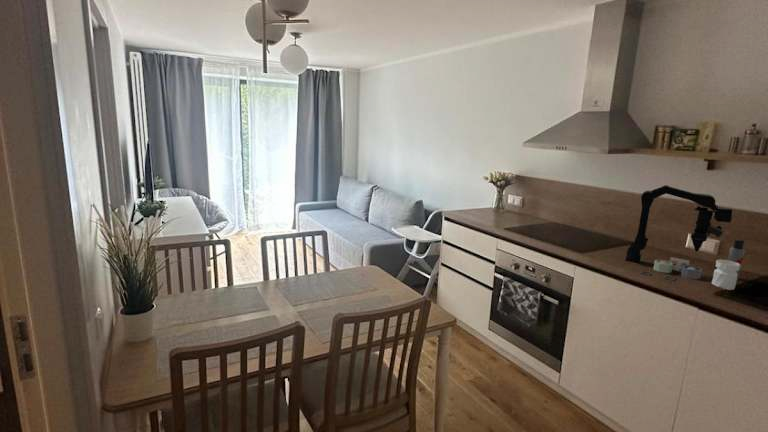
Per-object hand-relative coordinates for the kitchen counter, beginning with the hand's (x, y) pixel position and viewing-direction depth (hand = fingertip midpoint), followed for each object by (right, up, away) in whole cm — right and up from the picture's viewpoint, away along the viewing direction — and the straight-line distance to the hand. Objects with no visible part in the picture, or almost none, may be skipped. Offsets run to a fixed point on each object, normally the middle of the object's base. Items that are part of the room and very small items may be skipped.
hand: (697, 249), depth 210 cm
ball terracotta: (-16, -11, +4) cm, 20 cm away
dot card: (-8, -12, +3) cm, 15 cm away
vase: (0, -17, -15) cm, 22 cm away
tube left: (-16, -12, +4) cm, 20 cm away
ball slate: (-7, -13, -4) cm, 16 cm away
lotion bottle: (+14, -14, -3) cm, 20 cm away
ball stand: (-24, -14, -5) cm, 28 cm away
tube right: (-7, -14, -4) cm, 16 cm away
